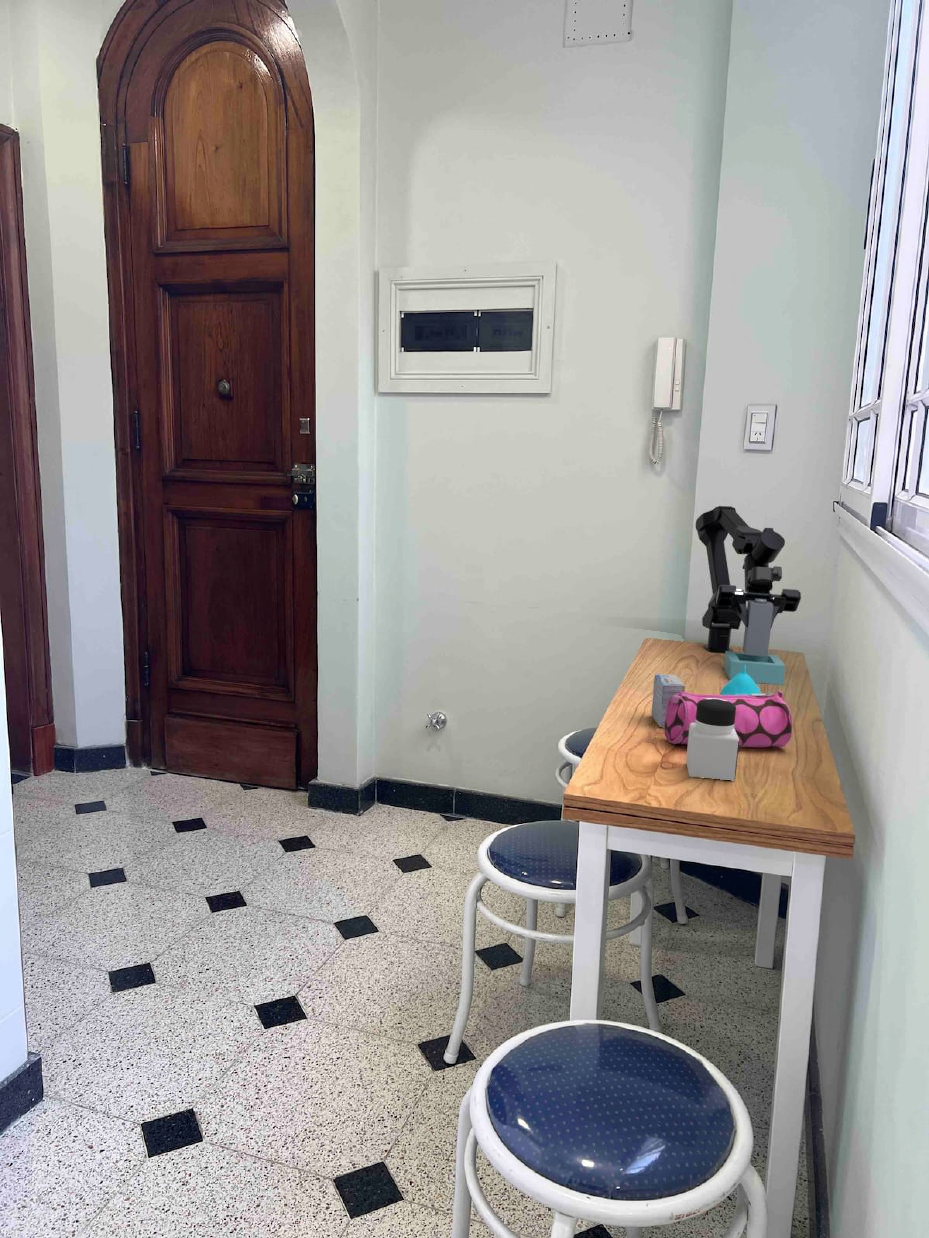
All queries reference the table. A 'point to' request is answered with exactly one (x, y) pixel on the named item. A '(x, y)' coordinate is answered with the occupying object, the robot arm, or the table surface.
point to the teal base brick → (755, 667)
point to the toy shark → (741, 685)
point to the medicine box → (664, 695)
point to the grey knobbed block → (758, 627)
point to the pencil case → (755, 718)
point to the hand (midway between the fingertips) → (758, 627)
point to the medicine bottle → (713, 741)
